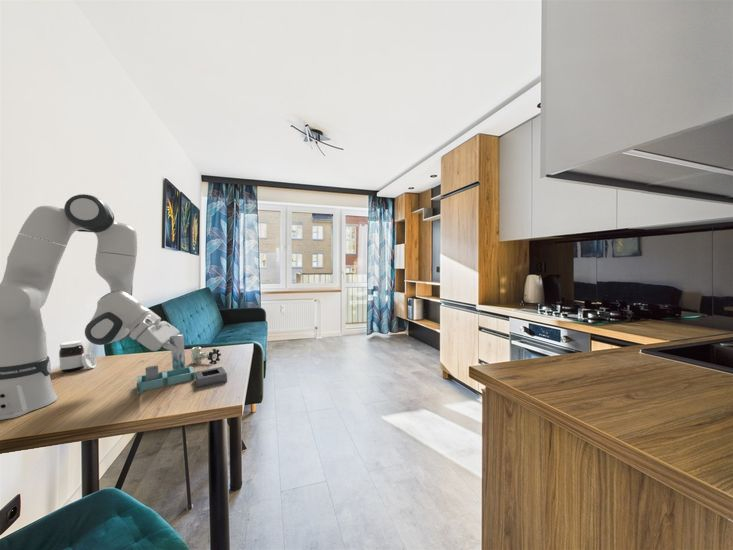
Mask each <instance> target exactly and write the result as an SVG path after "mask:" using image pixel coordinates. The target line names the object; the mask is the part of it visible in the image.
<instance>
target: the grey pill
mask: <svg viewBox="0 0 733 550" xmlns="http://www.w3.org/2000/svg"><path fill="white" fill-rule="evenodd" d="M184 339H185V338H184V334H183V333H179V334H176V335H172V336H171V342H170V344H172V345H174V346H177V347H178V348H179V350H178V351H177V352H176V353H173V352H172V351H170V352H171V363H172V365H171V366H172V369H171V370H178V369H182V368H185V367H186V357H185V342H184V341H185V340H184Z"/></svg>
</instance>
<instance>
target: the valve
mask: <svg viewBox="0 0 733 550" xmlns="http://www.w3.org/2000/svg"><path fill="white" fill-rule="evenodd" d="M219 352H220V349H216V348H213V349H212V350H211V351H209V353H206V352H204V351H202V347H201V346H195V347H191V355H190V356H191V360H192V361H191V364H192V363H195V364H194V365H197V364H196V363H198V364H201V363H202V362H203V360H205V359H207V360H208V361H209V364H210V365H217V364H218V363H217V362H220V360H221V358H220V357H221V356H222V354H221V353H219ZM201 361H202V362H201ZM200 362H201V363H200Z"/></svg>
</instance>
